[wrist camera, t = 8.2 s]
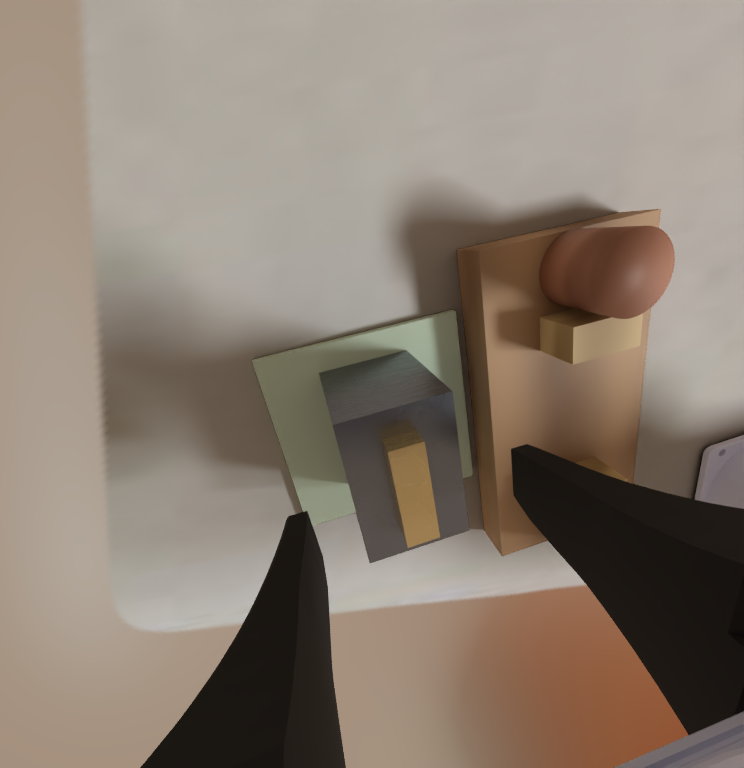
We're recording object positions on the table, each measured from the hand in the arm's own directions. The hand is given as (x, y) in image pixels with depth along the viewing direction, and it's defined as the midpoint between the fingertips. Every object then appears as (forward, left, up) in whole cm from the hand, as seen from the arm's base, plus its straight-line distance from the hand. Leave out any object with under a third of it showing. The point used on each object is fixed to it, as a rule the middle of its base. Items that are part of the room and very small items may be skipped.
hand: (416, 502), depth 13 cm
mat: (0, 0, -6) cm, 6 cm away
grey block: (0, 0, -6) cm, 6 cm away
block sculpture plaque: (-9, +1, -6) cm, 11 cm away
